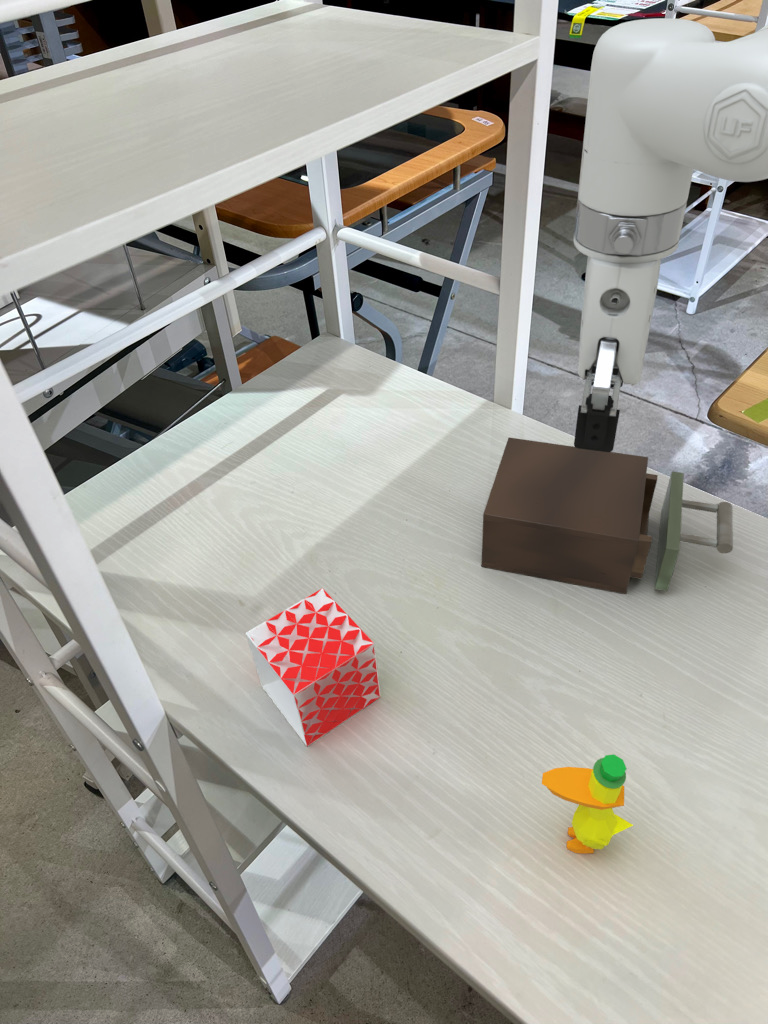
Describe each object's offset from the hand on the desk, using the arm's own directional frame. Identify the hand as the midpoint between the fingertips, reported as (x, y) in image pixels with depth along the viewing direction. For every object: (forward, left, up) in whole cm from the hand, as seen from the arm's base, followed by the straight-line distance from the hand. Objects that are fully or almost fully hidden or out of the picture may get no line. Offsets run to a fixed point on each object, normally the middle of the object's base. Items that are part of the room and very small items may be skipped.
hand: (599, 415), depth 66 cm
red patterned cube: (+20, +23, -18) cm, 35 cm away
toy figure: (-4, +30, -18) cm, 35 cm away
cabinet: (+2, -2, -18) cm, 18 cm away
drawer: (-5, -2, -17) cm, 18 cm away
